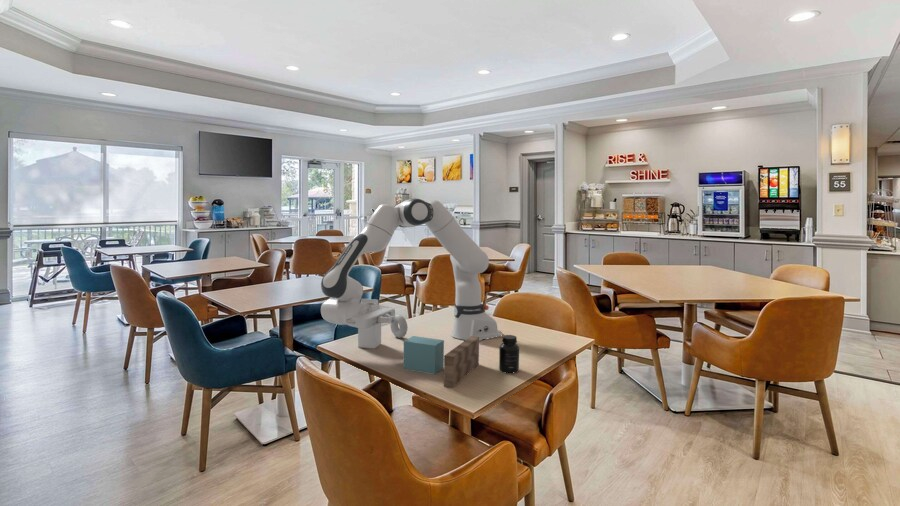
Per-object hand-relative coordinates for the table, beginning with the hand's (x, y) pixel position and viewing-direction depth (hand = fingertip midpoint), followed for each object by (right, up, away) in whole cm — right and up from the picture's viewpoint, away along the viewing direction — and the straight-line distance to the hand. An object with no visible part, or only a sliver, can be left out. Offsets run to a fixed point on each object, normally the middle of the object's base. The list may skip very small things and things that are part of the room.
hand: (393, 319), depth 166 cm
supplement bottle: (+41, -17, -4) cm, 44 cm away
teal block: (+11, -16, -3) cm, 20 cm away
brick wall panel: (+24, -17, -9) cm, 31 cm away
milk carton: (-12, -14, +22) cm, 28 cm away
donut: (-2, -13, +33) cm, 36 cm away
